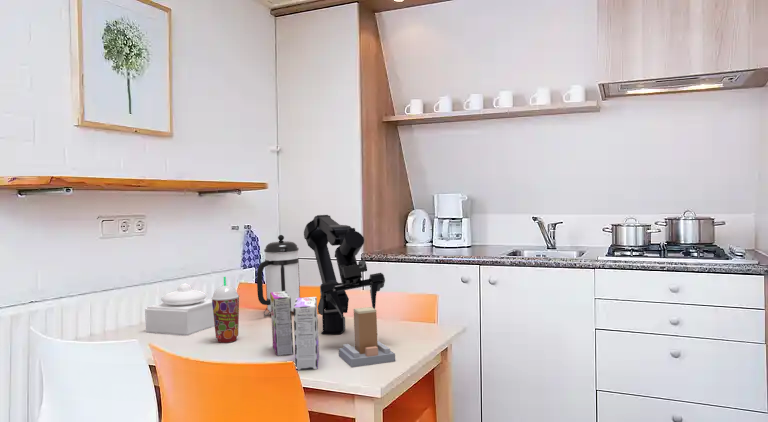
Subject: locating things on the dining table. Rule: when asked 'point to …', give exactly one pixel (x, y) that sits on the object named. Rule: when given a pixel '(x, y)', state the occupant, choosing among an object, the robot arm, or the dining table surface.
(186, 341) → the dining table surface
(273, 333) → the candy bar box
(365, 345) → the cream-topped square box
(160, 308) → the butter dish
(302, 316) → the candy box
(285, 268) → the coffee press
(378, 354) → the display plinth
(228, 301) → the smoothie
